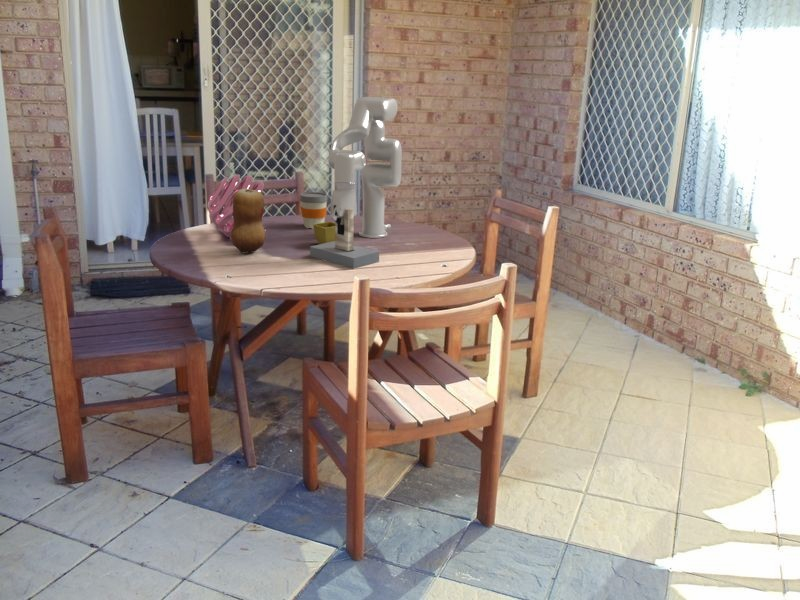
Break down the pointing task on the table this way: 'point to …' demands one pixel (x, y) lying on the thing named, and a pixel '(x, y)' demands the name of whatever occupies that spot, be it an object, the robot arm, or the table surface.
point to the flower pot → (324, 232)
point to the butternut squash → (248, 220)
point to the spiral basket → (228, 209)
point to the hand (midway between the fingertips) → (344, 233)
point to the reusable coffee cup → (313, 208)
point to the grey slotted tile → (344, 255)
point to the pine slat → (346, 232)
